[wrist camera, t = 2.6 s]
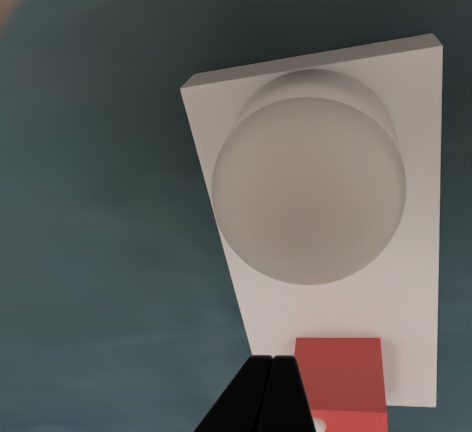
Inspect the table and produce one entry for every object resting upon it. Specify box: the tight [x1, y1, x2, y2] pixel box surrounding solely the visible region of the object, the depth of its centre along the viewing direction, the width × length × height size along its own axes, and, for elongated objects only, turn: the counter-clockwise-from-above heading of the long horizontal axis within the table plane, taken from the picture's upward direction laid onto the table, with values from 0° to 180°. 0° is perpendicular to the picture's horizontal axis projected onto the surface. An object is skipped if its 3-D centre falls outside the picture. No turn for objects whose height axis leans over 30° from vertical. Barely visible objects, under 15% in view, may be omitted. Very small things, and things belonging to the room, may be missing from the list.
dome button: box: [211, 69, 407, 285], centre depth 15 cm, size 6×6×8 cm
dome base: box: [180, 33, 443, 432], centre depth 19 cm, size 18×9×6 cm, turn 12°
